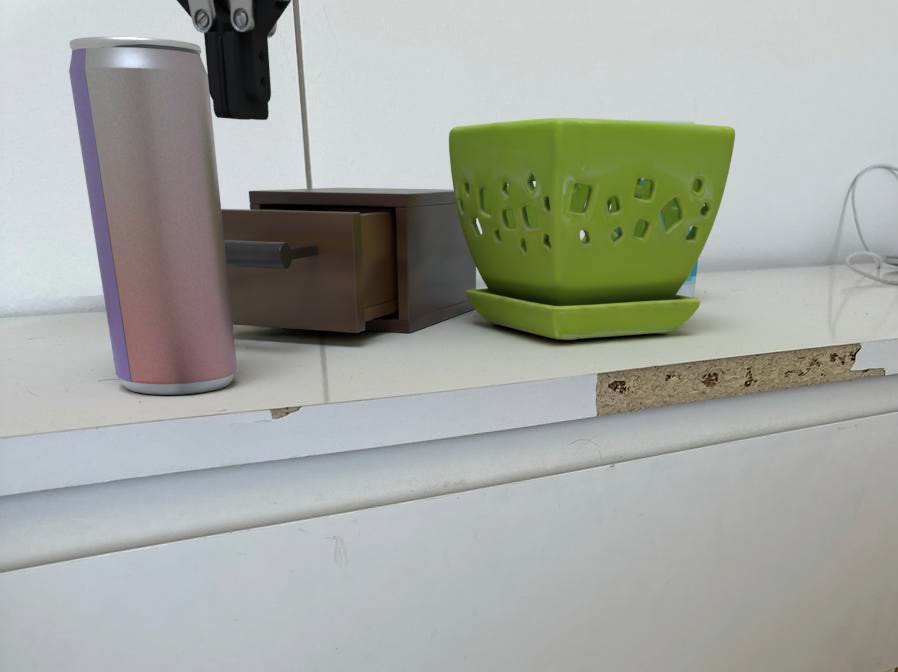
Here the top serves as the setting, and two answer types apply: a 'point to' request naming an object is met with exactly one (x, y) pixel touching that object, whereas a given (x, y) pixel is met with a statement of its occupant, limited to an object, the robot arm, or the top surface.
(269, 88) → the robot arm
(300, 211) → the drawer
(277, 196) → the cabinet
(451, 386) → the top surface
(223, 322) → the beverage can
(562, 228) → the flower pot
